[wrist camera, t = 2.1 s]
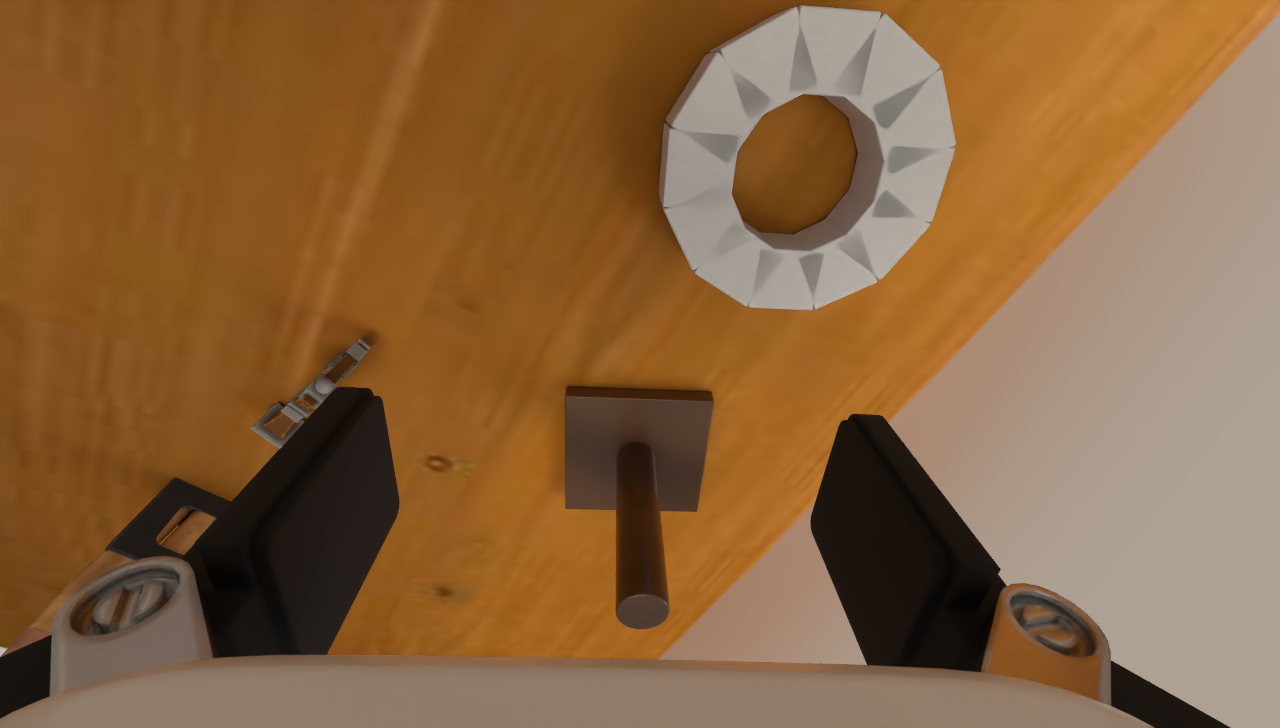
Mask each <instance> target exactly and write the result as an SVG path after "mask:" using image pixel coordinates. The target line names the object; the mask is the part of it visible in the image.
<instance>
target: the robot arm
mask: <svg viewBox="0 0 1280 728" xmlns="http://www.w3.org/2000/svg"><path fill="white" fill-rule="evenodd" d="M398 510H399V495H398V489H397V483H396V477H395V472H394V466H393V460H392V454H391V448H390V442H389V436H388V430H387V424H386V418H385V412H384V406H383V402H382V399H381V397H379V396H374V394H373V392H372V391H371V389H369V388H355V387H337V388H336V389H334V390H333V391H332V392H331V393H330V395H329V396H328V397H327V398H326V399H325V400H324V401H323V402H322V403H321V404H320V405H319V407H318V408H317V409H316V410H315V411H314V412H313V413H312V414H311V415H310V416H309V418H308V419H307V420H306V421H305V422H304V423H303V424H302V425H301V426H300V427H299V428H298V430H297V431H296V432H295V433H294V434H293V435H292V436H291V437H290V438H289V439H288V441H287V442H286V443H285V444H284V445H283V446H282V447H281V448H280V449H279V450H278V451H277V453H276V454H275V455H274V456H273V457H272V458H271V459H270V460H269V461H268V462H267V464H266V465H265V466H264V467H263V468H262V469H261V470H260V471H259V472H258V473H257V474H256V476H255V477H254V478H253V479H252V480H251V481H250V482H249V483H248V484H247V485H246V486H245V488H244V489H243V490H242V491H241V492H240V493H239V494H238V495H237V496H236V497H235V499H234V500H233V501H232V502H231V503H230V504H229V505H228V506H227V507H226V508H225V509H224V511H223V512H222V513H221V514H220V515H219V516H218V517H217V518H216V519H215V520H214V522H213V523H212V524H211V525H210V526H209V527H208V528H207V529H206V530H205V531H204V532H203V534H202V535H201V536H200V537H199V538H198V539H197V540H196V541H195V544H194V545H193V546H192V547H191V548H190V549H189V550H188V551H187V552H186V553H185V555H184V556H183V557H182V558H181V559H180V558H178V557H169V556H158V557H150V558H143V559H140V560H136V561H133V562H129V563H126V564H123V565H121V566H118V567H116V568H114V569H112V570H109V571H107V572H105V573H103V574H101V575H100V576H98V577H96V578H95V579H93V580H92V581H90V582H88V583H87V584H85V585H83V586H82V587H81V588H80V589H79V590H78V591H77V592H75V593H74V594H73V595H72V596H71V597H70V598H68V599H67V600H66V602H65V603H64V604H63V606H62V607H61V608H60V610H59V611H58V612H57V614H56V616H55V620H54V623H53V626H52V634H51V635H49V636H47V637H45V638H42V639H40V640H38V641H36V642H33V643H31V644H29V645H27V646H24V647H22V648H20V649H18V650H15V651H13V652H11V653H9V654H6V655H4V656H2V657H0V728H1230V727H1228V726H1227V725H1224V724H1223V723H1221V722H1220V721H1218V720H1216V719H1214V718H1212V717H1211V716H1209V715H1207V714H1205V713H1204V712H1202V711H1200V710H1198V709H1196V708H1195V707H1193V706H1191V705H1189V704H1187V703H1186V702H1184V701H1182V700H1180V699H1179V698H1177V697H1175V696H1173V695H1171V694H1170V693H1168V692H1166V691H1164V690H1163V689H1161V688H1159V687H1157V686H1155V685H1154V684H1152V683H1150V682H1148V681H1146V680H1145V679H1143V678H1141V677H1139V676H1138V675H1136V674H1134V673H1132V672H1131V671H1129V670H1127V669H1125V668H1123V667H1122V666H1120V665H1118V664H1116V663H1114V662H1113V661H1111V656H1110V655H1111V652H1110V648H1109V644H1108V640H1107V639H1106V637H1105V635H1104V634H1103V632H1102V630H1101V629H1100V627H1099V626H1098V625H1097V624H1096V623H1095V622H1094V621H1093V620H1092V619H1091V618H1090V617H1089V616H1088V614H1086V613H1085V612H1084V611H1082V610H1081V609H1080V608H1079V607H1077V606H1076V605H1075V604H1074V603H1072V602H1071V601H1069V600H1067V599H1065V598H1064V597H1062V596H1060V595H1058V594H1057V593H1055V592H1052V591H1050V590H1047V589H1044V588H1042V587H1039V586H1035V585H1030V584H1025V583H1020V584H1011V585H1009V586H1006V584H1005V583H1004V582H1003V580H1002V579H1001V578H1000V576H999V575H998V573H999V571H1000V568H999V567H998V565H997V564H996V563H995V561H994V560H993V559H992V558H991V556H990V555H989V554H988V552H987V551H986V550H985V549H984V547H983V546H982V545H981V543H980V542H979V541H978V539H977V538H976V537H975V535H974V534H973V533H972V532H971V531H970V529H969V528H968V526H967V525H966V524H965V522H964V521H963V520H962V519H961V517H960V516H959V515H958V513H957V512H956V511H955V510H954V508H953V507H952V506H951V504H950V503H949V502H948V500H947V499H946V498H945V496H944V495H943V494H942V493H941V491H940V490H939V489H938V487H937V486H936V485H935V484H934V482H933V481H932V480H931V479H930V477H929V476H928V474H926V472H925V470H924V469H923V468H922V467H921V465H920V464H919V463H918V461H917V460H916V459H915V457H913V455H912V454H911V452H910V451H909V450H908V448H907V447H906V446H905V444H904V443H903V442H902V441H901V439H900V438H899V437H898V435H897V434H896V433H895V431H894V430H893V429H892V428H891V426H890V425H889V424H888V422H887V421H886V420H885V418H883V417H882V416H880V415H867V414H852V415H851V416H850V417H849V418H848V420H843V421H842V422H841V423H840V425H839V427H838V431H837V434H836V437H835V440H834V444H833V447H832V450H831V453H830V456H829V460H828V463H827V466H826V469H825V473H824V476H823V479H822V482H821V486H820V489H819V492H818V495H817V498H816V502H815V505H814V509H813V512H812V515H811V530H812V534H813V536H814V539H815V541H816V543H817V546H818V548H819V551H820V553H821V555H822V558H823V560H824V563H825V565H826V567H827V570H828V572H829V575H830V577H831V579H832V582H833V584H834V586H835V589H836V591H837V593H838V596H839V598H840V601H841V603H842V606H843V608H844V611H845V613H846V615H847V618H848V620H849V623H850V625H851V627H852V629H853V632H854V634H855V637H856V639H857V642H858V644H859V646H860V649H861V651H862V654H863V656H864V658H865V661H866V663H867V665H849V664H810V663H808V664H807V663H773V662H736V661H734V662H733V661H696V660H695V661H694V660H651V659H603V658H553V657H494V656H429V655H327V653H328V651H329V649H330V647H331V645H332V643H333V641H334V639H335V637H336V635H337V633H338V631H339V629H340V627H341V625H342V623H343V621H344V620H345V618H346V616H347V614H348V612H349V610H350V608H351V606H352V604H353V602H354V600H355V598H356V596H357V594H358V592H359V590H360V588H361V586H362V584H363V582H364V580H365V578H366V576H367V574H368V572H369V570H370V568H371V566H372V564H373V562H374V560H375V559H376V557H377V555H378V553H379V551H380V549H381V547H382V545H383V543H384V541H385V539H386V537H387V535H388V533H389V531H390V529H391V527H392V525H393V523H394V521H395V519H396V517H397V514H398Z"/></svg>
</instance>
